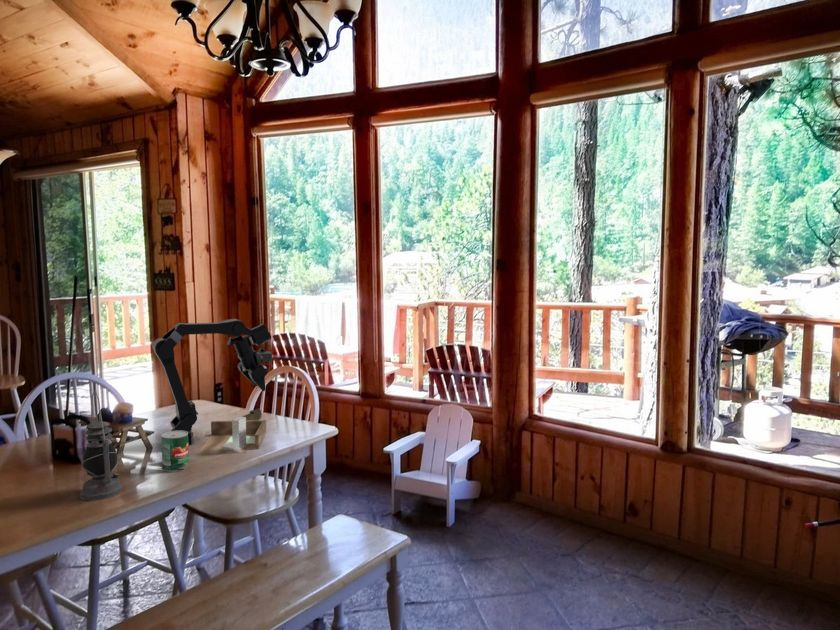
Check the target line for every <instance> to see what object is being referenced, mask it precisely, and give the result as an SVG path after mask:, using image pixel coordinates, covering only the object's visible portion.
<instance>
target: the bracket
mask: <svg viewBox="0 0 840 630" xmlns="http://www.w3.org/2000/svg"><path fill="white" fill-rule="evenodd" d="M231 421H232V439H233V442H228V443H227V444H225V445H223V446H222V451H231V452H241V451H242V450H244V449H246V417H242V416H237V417H236V418H233V419H232V420H231Z"/></svg>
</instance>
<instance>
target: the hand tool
mask: <svg viewBox="0 0 840 630" xmlns="http://www.w3.org/2000/svg"><path fill="white" fill-rule="evenodd" d="M241 417H246V420H261V419H262V410H261V408H255V409H251V410H250V411H249V413H248V414H244V415H242V416H241Z"/></svg>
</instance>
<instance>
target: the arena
mask: <svg viewBox="0 0 840 630" xmlns="http://www.w3.org/2000/svg"><path fill="white" fill-rule="evenodd" d="M210 429H211V430H210V433H211V435H210V437H208V438H207V440H206V441H205V442H204V444H203V445H202V446H201V448H200V449H199V451H198V452H197V453H196V455H207V454H208V455H210V454H215V455H216V454H217V455H218V454H246V453H247V451H248V450H260V447H261V445H262V444H263V441H264V439H265V437H266V435H267V420H266V419H259V420H246V436H255V444H246V449H244V450H242V451H241V452H231V451H222V446H223V445H225V444H226V443H227V441H228V440H229V438H230V437H232V420H212V421H210Z"/></svg>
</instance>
